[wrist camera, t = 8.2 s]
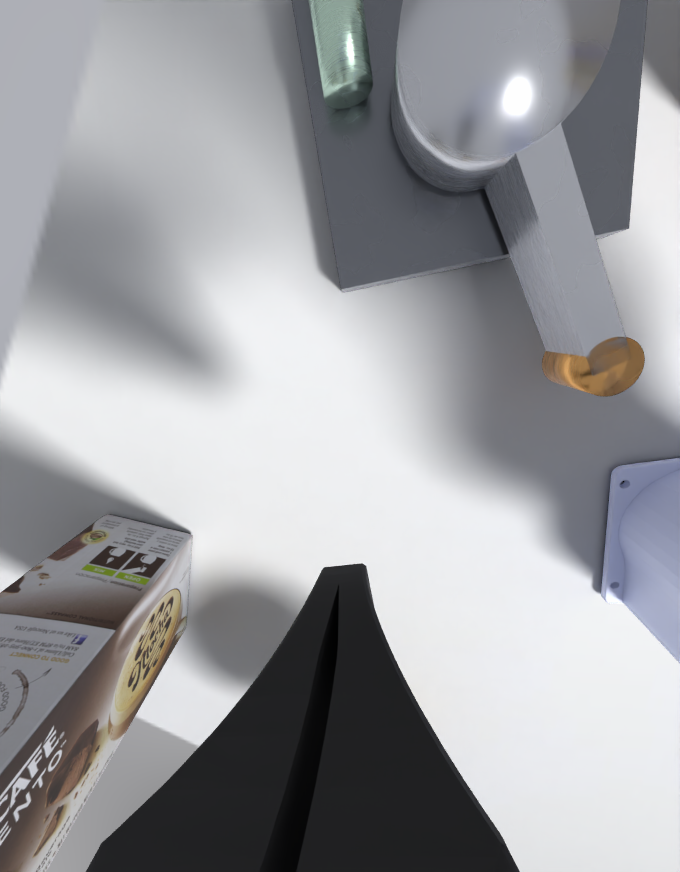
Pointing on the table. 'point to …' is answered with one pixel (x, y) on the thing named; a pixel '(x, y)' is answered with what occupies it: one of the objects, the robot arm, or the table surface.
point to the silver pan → (519, 156)
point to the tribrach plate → (398, 183)
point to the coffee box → (80, 671)
